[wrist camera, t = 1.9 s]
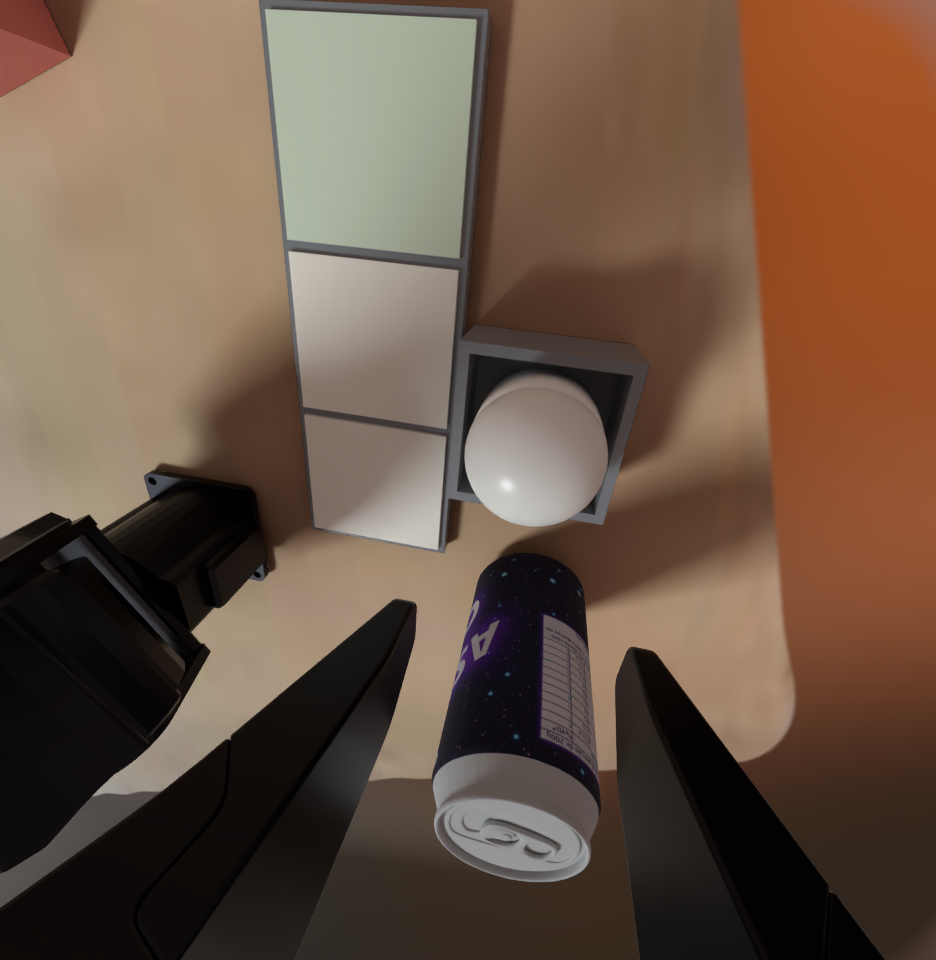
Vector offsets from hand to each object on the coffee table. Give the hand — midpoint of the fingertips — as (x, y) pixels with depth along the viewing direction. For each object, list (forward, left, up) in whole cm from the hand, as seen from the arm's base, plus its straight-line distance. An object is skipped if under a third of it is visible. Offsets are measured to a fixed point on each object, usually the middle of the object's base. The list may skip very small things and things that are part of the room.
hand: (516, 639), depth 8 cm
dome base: (0, 0, -13) cm, 13 cm away
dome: (0, 0, -10) cm, 10 cm away
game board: (-7, +2, -13) cm, 15 cm away
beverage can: (+1, -10, -13) cm, 17 cm away
